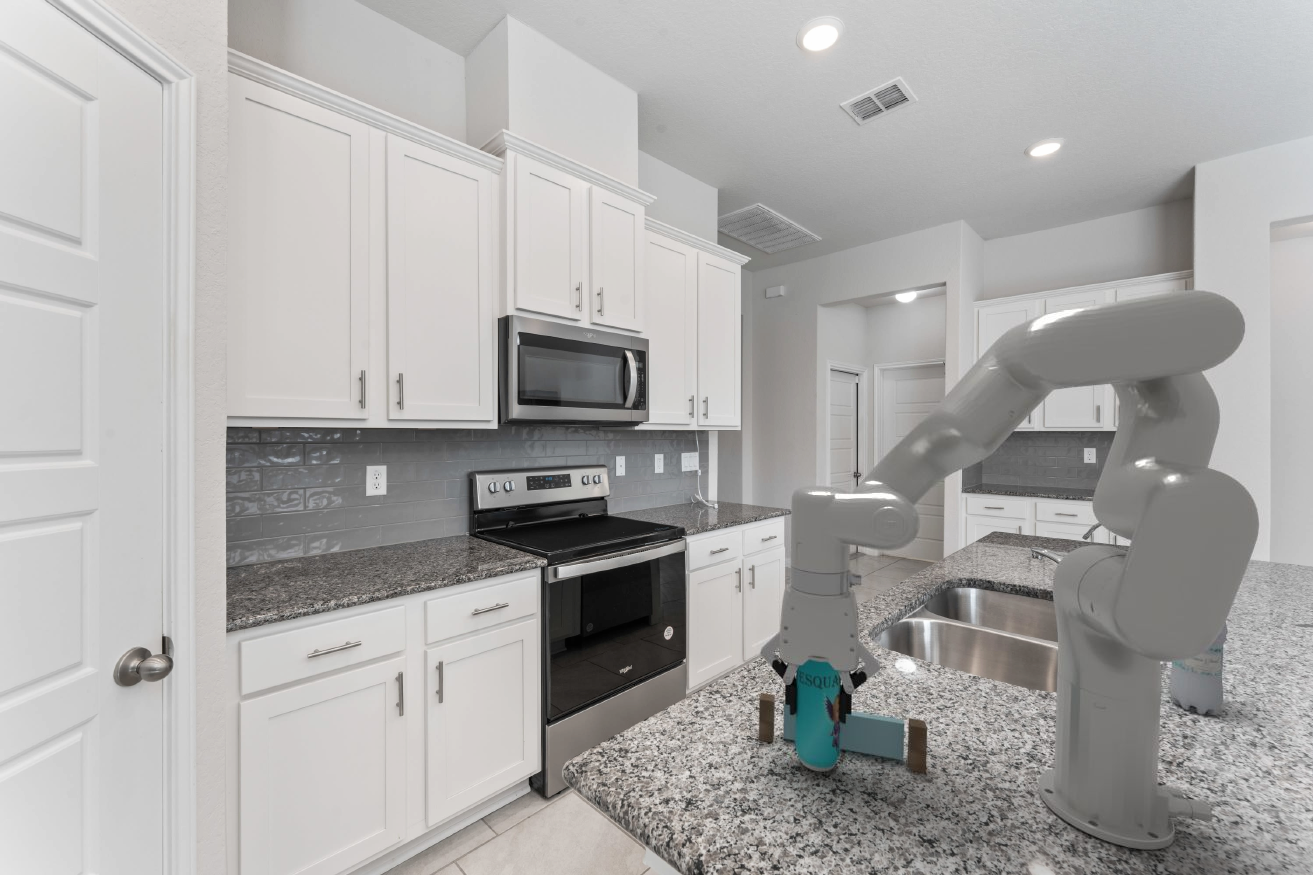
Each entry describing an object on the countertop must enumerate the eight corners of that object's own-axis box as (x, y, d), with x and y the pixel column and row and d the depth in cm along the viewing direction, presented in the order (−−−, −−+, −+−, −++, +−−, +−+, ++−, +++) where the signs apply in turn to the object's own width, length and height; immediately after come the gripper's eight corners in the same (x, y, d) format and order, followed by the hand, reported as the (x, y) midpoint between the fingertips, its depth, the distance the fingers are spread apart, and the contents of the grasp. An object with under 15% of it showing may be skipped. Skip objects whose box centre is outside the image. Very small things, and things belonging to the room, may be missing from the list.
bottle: (1175, 711, 89) (1180, 589, 88) (1161, 694, 95) (1165, 579, 94) (1232, 722, 85) (1237, 596, 85) (1213, 703, 91) (1218, 585, 91)
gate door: (902, 754, 76) (903, 719, 75) (903, 759, 74) (904, 723, 74) (783, 733, 81) (784, 700, 80) (783, 738, 79) (783, 704, 79)
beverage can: (830, 780, 69) (832, 663, 69) (788, 763, 73) (789, 651, 72) (845, 758, 74) (847, 648, 73) (804, 743, 77) (806, 638, 77)
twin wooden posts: (923, 761, 75) (924, 718, 75) (926, 773, 72) (927, 728, 72) (760, 732, 81) (761, 692, 81) (758, 741, 79) (758, 700, 79)
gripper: (886, 578, 74) (884, 710, 74) (757, 567, 79) (756, 691, 79) (892, 595, 67) (890, 741, 67) (750, 581, 72) (749, 717, 72)
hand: (817, 712), depth 73 cm, fingers closed on beverage can, 5 cm apart
